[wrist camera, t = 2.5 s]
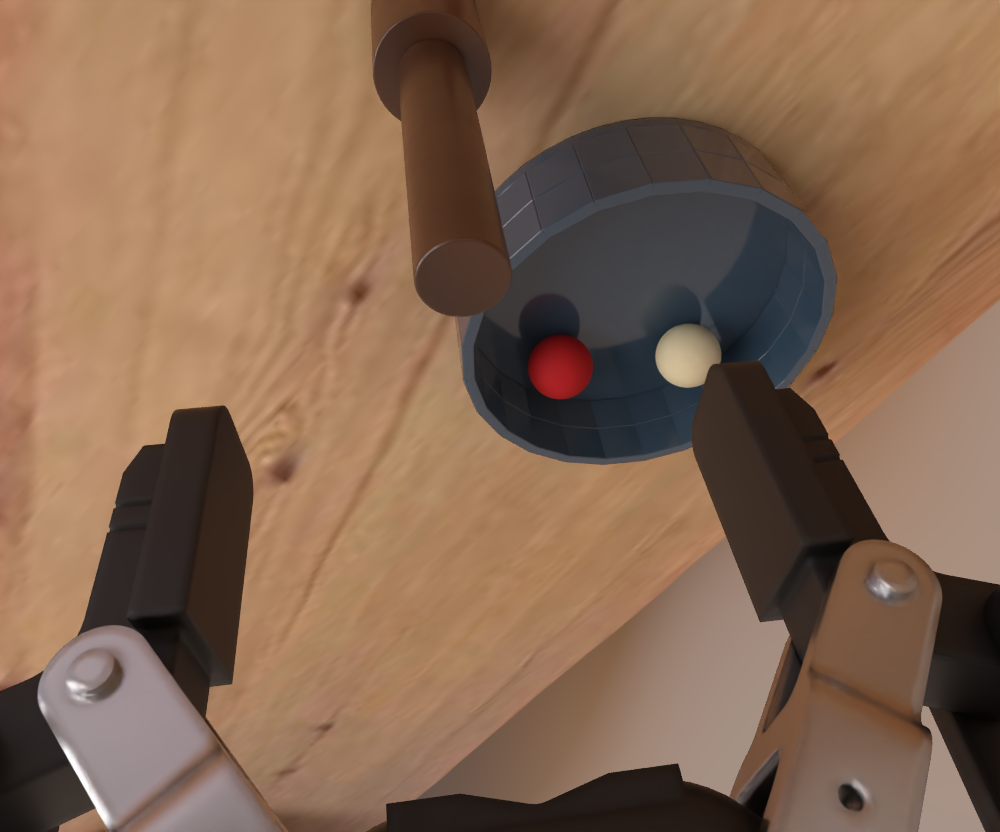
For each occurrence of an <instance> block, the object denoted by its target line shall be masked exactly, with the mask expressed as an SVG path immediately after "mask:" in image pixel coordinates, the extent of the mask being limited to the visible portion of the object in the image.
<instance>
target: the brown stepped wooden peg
mask: <svg viewBox="0 0 1000 832" xmlns="http://www.w3.org/2000/svg"><path fill="white" fill-rule="evenodd" d="M371 28H372V63H373V79H374V84H375V87H376V90H377V93H378V95H379V97H380V99H381V101H382V102H383V104H384V106H385V107H386V108H387V109H388V110H389V112H391V113H392V114H393V115H394V116H395V117H396V118H398V119H399V120H400V121H401V123H402V136H403V148H404V161H405V174H406V186H407V199H408V212H409V224H410V237H411V250H412V262H413V275H414V284H415V288H416V291H417V293H418V295H419V297H420V298H421V299H422V301H423V302H424V303H425V304H426V305H427V306H429V307H430V308H431V309H433V310H435V311H437V312H439V313H441V314H445V315H448V316H455V317H466V316H473V315H477V314H480V313H483V312H485V311H487V310H489V309H491V308H492V307H494V306H495V305H496V304H498V303H499V302H500V301H501V300H502V298H503V297H504V296H505V294H506V293H507V291H508V289H509V287H510V284H511V280H512V267H511V263H510V258H509V254H508V249H507V245H506V240H505V236H504V231H503V227H502V222H501V218H500V214H499V209H498V205H497V200H496V196H495V191H494V187H493V182H492V178H491V173H490V169H489V164H488V160H487V155H486V151H485V146H484V142H483V137H482V133H481V128H480V124H479V119H478V115H477V109H478V108H479V107H480V106H481V104H482V103H483V101H484V99H485V97H486V95H487V93H488V90H489V86H490V81H491V61H490V56H489V52H488V48H487V45H486V41H485V37H484V34H483V30H482V27H481V23H480V19H479V16H478V12H477V8H476V5H475V1H474V0H372V2H371Z"/></svg>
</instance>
